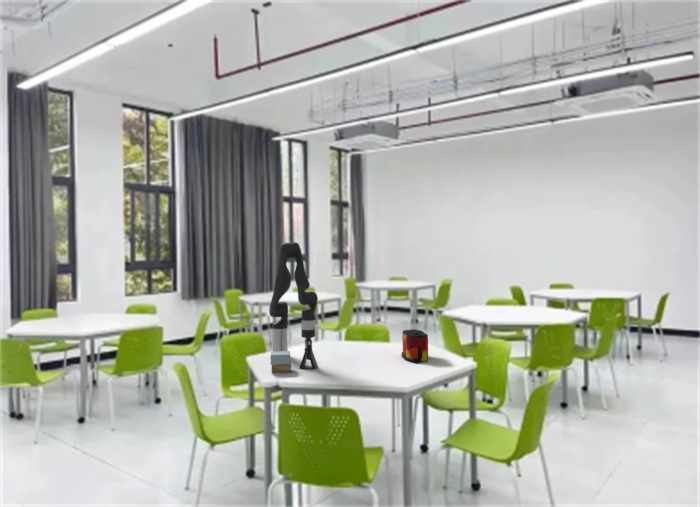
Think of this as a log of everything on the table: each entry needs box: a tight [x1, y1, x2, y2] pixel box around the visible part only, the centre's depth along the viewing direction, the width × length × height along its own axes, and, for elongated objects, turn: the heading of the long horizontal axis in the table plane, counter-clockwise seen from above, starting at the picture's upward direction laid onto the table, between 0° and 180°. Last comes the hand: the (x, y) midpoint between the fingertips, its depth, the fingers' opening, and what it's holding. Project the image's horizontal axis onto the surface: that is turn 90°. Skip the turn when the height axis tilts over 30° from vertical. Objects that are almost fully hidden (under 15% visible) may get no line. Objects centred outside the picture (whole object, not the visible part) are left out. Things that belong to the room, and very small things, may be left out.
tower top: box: [270, 350, 291, 366], centre depth 277 cm, size 10×10×5 cm
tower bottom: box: [271, 361, 292, 374], centre depth 277 cm, size 10×10×5 cm
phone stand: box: [299, 346, 319, 370], centre depth 285 cm, size 9×6×12 cm, turn 81°
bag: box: [401, 329, 429, 364], centre depth 308 cm, size 30×14×16 cm, turn 5°
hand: (308, 358), depth 285 cm, fingers open, 7 cm apart
